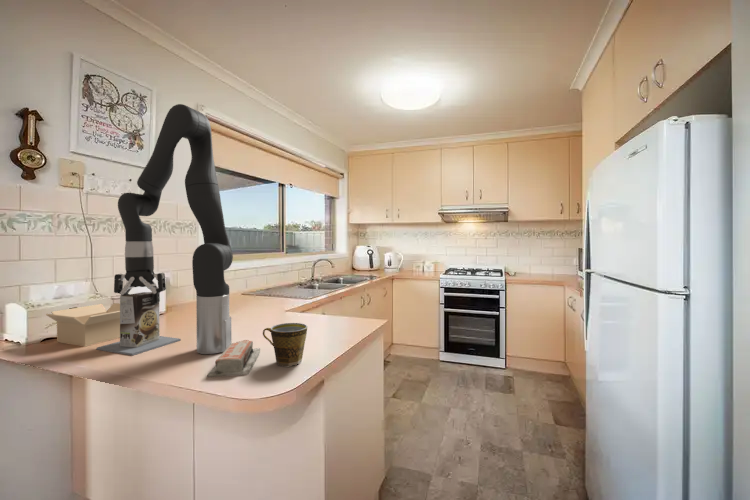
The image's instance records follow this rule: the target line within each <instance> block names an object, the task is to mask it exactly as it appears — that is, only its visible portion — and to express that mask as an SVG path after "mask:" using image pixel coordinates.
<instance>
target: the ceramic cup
mask: <svg viewBox="0 0 750 500" xmlns="http://www.w3.org/2000/svg"><path fill="white" fill-rule="evenodd" d="M266 331H268V332H270V337H271V339H270V338H268V337H267V336H266V334H265V332H266ZM307 332H308V326H307V324H305V323H301V322H299V323H298V322H287V323H279V324H276V325H273V326H271V327H266V328H264V329H263V331H262V336H263V338H264V339H266V340H267V342H269V343H270V345H271V346H272V347H273V350H274V351H273V352H274V355H275V361H276V362H275V363H276V364H277V365H278V367H284V366H290V367H293V366H292V365H295V366H298V365H300V364H301V363H302V360H303V355H304V350H305V344H306V340H307V339H306V338H307ZM300 362H301V363H300ZM299 363H300V364H299ZM297 364H298V365H297Z"/></svg>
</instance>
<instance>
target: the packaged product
mask: <svg viewBox="0 0 750 500" xmlns="http://www.w3.org/2000/svg"><path fill="white" fill-rule="evenodd" d="M253 345H254V343H253V340H249V339H244V340H240V341H236V342H233V343H232V342H231V344H230V345H229V346H228V347H227V348H226V350H225V351H224V352H221V354H220V355H219V357H217V359H216V360H215V365H214V366H213V367H212V368H211V369H210V371H208V373H207V375H206V376H207V377H208V378H216V377H232V376H233V377H234V376H235V377H236V376H248V375H249V374H250V372H251V370H252V369H253V367H254V365H255V363H256V362H257V361H258V358H259V356H260V353H261V347H260V348H259V347H258V348H254V346H253Z"/></svg>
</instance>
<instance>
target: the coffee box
mask: <svg viewBox="0 0 750 500" xmlns="http://www.w3.org/2000/svg"><path fill="white" fill-rule="evenodd" d="M128 294H129V295H123V296H121V295H120V296H119V304H120V338H119V341H120V346H124V347H134V348H136V347H139V346H142V345H145V344H148V343H151V342H154V341H157V340H159V339H160V338H159V336H160V302H159V303H158V304H157V305H152V294H153V293H152V291H148V292H147V291H146V292H145V291H144V292H143V291H142V292H136V293H128Z"/></svg>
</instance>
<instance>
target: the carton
mask: <svg viewBox="0 0 750 500" xmlns="http://www.w3.org/2000/svg"><path fill="white" fill-rule="evenodd" d="M45 315H46V316H47V317H49V318H50V319H52V320H54V321H55V322H56V338H57V339H56V343H61V344H68V345H73V346H81V347H89V346H92V345H97V344H100V343H105V342H108V341H113V340H116V339H120V302H119V303H118V302H117V303H116V302H115V303H112V304H111V306H110V307H108V309H107V308H105V306H104V305H103V303H99V304H98V303H97V304H92V305H91V304H90V305H85V306H79V307H73V308H66V309H61V310H60V309H59V310H55V311H54V310H53V311H51V313H46V314H45Z"/></svg>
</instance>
